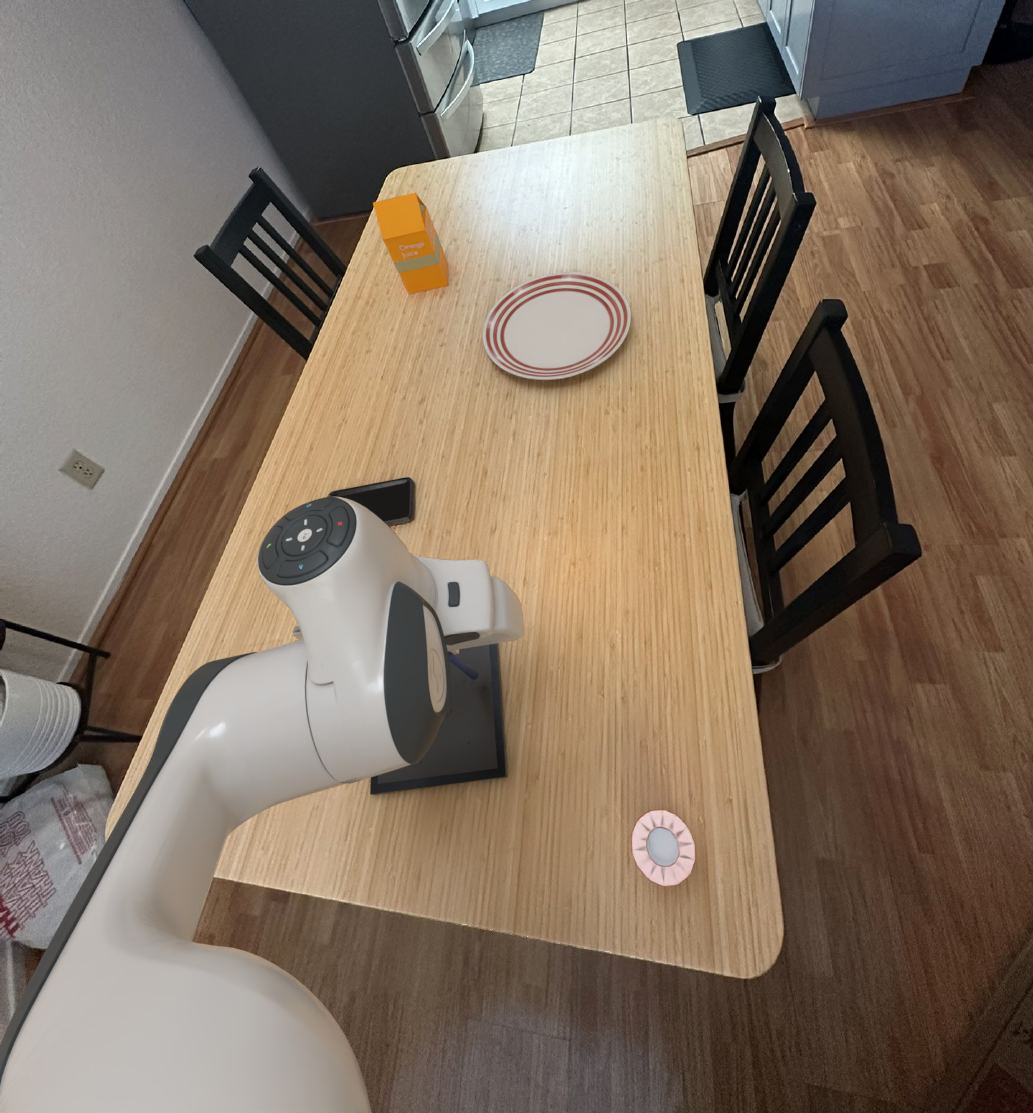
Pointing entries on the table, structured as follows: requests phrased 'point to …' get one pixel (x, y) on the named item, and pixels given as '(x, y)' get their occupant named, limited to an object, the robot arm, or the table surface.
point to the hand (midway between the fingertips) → (441, 648)
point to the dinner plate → (556, 326)
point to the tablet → (461, 732)
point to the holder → (663, 847)
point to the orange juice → (412, 242)
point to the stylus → (463, 666)
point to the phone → (385, 499)
